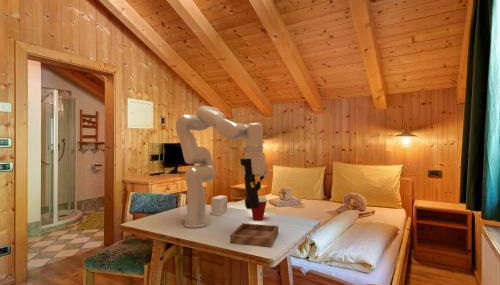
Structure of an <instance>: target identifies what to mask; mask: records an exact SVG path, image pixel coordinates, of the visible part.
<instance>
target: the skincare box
mask: <svg viewBox="0 0 500 285" xmlns="http://www.w3.org/2000/svg"><path fill="white" fill-rule="evenodd" d="M210 199H211V202H210V207H211V208H210V215H211V216H223V215H224V214H226V213H228V196H227V195H220V194H219V195H217V196H213V197H211V198H210Z"/></svg>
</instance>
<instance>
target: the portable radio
mask: <svg viewBox="0 0 500 285" xmlns="http://www.w3.org/2000/svg"><path fill="white" fill-rule="evenodd" d="M244 154H245V153H243V155H244ZM239 160H240V165H241V166H242V167H243V166H245V177H243V179H244V190H245V199H244V206H245V208H246V209H247V210H251V209H254V208H259V206H260V203H259V198H258V197H259V193H258V191H257V183H256V175H252V167H251V165H252V163H251V159H244V157H243V158H240V159H239Z"/></svg>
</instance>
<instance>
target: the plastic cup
mask: <svg viewBox="0 0 500 285" xmlns="http://www.w3.org/2000/svg"><path fill="white" fill-rule="evenodd" d="M258 198H259V203H260V206H259V208H254V209H250V210H251V215H252V219H253V221H258V222H259V221H263V220H264V216H265V211H266V206H267V202H268V199H269V198H265V197H260V196H258Z"/></svg>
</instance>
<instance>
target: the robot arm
mask: <svg viewBox="0 0 500 285" xmlns="http://www.w3.org/2000/svg"><path fill="white" fill-rule="evenodd" d="M210 127H212V128H213V129H215V130H216V132H217V133H219V134H220V135H222V136H224V137H226V138H228V139H232V140H245V141H246V144H245V145H246V146H245V147H243V151H244V152H245V151H246V152H245V153H244V154H243V158H244V159H251V163H252V165H251V167H252V175H255V176H257V181H256V184H257V191H260V190H261V189H262V181H263V180H264V178H267V177H269V173H268V170H267V162H266V155H265V152H264V148H263V147H264V141H263V140H264V138H263V136H264V132H263V130H264V129H263V124H262V123H260V122H248V123H240V122H233V121H231V120H229V119H227V117H226V114H225V113H223V112H222V111H221V110H220V109H219V108H217V107H215V106H209V105H201V106H199V107H198V108H197V109H196V112H195V114H191V113H185V114H184V113H183V114H181V115H179V116H178V117H177V119H176V121H175V130H176V135H177V137H178V139H179V144H180V147H181V150H182V156H183V159H184V163H186V164H188V165H191V166H189V167H188V168H187V169H186V170H185V173H184V175H185V176H184V177H185V183H186V184H185V185H186V194H187V195H186V200H187V202H186V203H187V206H186V207H187V208H186V209H187V215H181V217H180V218H181V221H185V222H184V226H185V228H190V229H192V228H193V229H197V228H204V227H206V226H208V225H209V221H208V219H206V190H205V186H204V185H203V183H206V182H207V183H208V182H211V181H213V180H214V179H215V176H216V171H215V170H216V169H215V165H214V161H213V158H212V154H211V152H210V150H209V149H208V148H207V147H204V146H198V143H197V140H196V137H195V135H194V134H193V132H192V131H204V130H207V129H208V128H210ZM197 164H198V165H197ZM241 176H242V177H243V178H244V177H245V166H242V172H241Z"/></svg>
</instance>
